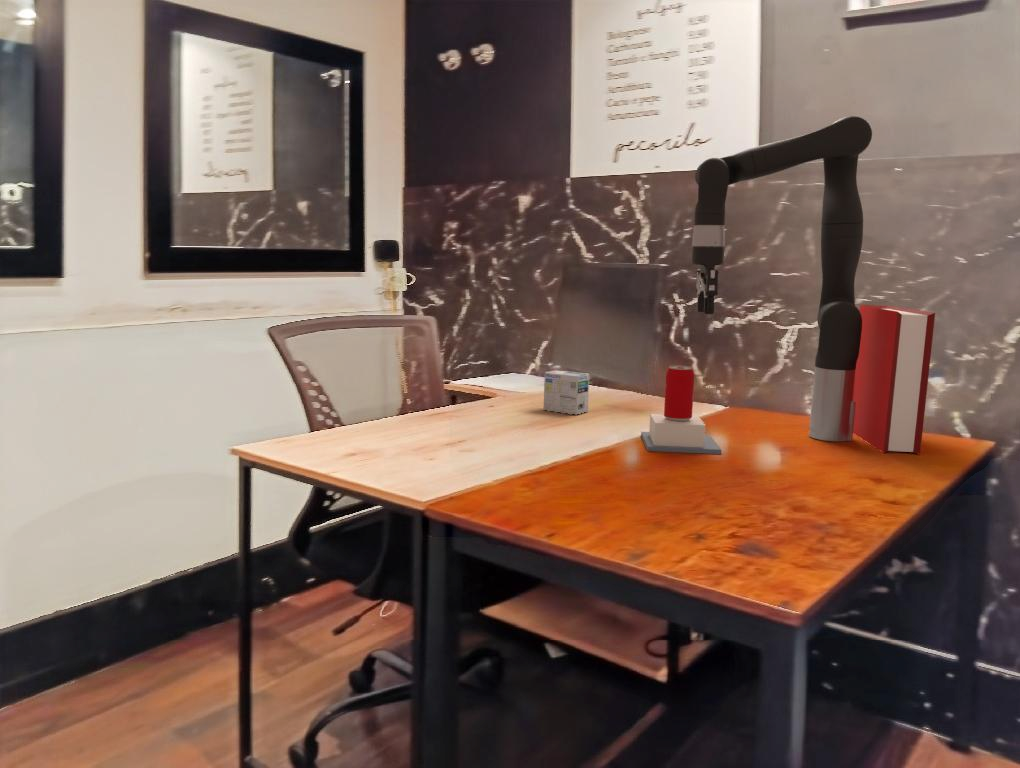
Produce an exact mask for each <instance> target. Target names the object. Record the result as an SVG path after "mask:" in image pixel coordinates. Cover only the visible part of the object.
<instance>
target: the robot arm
mask: <svg viewBox="0 0 1020 768" xmlns="http://www.w3.org/2000/svg"><path fill="white" fill-rule="evenodd" d="M872 136H873V130H872V127H871V124H870V123H869V122H868V121H867V120H866V119H864V118H862V117H860V116H857V115H850V116H844V117H841V118H839V119H838V120H836V121H834V122H833V123H831V124H830V125H827V126H825V127H822V128H820V129H817V130H815V131H811V132H809V133H805V134H803V135H799V136H794V137H792V138H787V139H783V140H782V139H781V140H778V141H774V142H770V143H766V144H762V145H761V144H760V145H757V146H754V147H751V148H747V149H744V150H741V151H739V152H737V153H735V154H732V155H731V154H730V155H728V156H724V157H720V158H718V157H710V158H707V159H706V160H704V161H703V162H701V163H700V164H699V165H698V167H697V168H696V171H695V174H694V175H695V176H694V178H695V182H696V184H697V187H698V189H697V190H698V192H697V202H696V205H695V208H694V226H693V233H692V241H691V242H692V245H691V247H692V248H691V264H692V265H693V266H700V267H699V269H698V268H697V270H696V281H695V282H696V283H695V290H694V292H695V294H696V297H697V308H696V311H697V312H698V313H703V314H704V315H714V313H715V299H716V297H717V296H718V290H719V289H718V287H719V286H718V285H719V283H718V280H719V270H718V269H715V267H716V266H723V265H724V264H725V245H726V243H725V242H726V230H725V226H726V225H725V222H726V201H727V195H728V188H729V186H731V185H733V184H736V183H739V182H743V181H750V180H753V179H759V178H761V177H765V176H769V175H773V174H776V173H779V172H783V171H785V170H788V169H791V168H793V167H796V166H798V165H801V164H802V165H803V164H805V163H808V162H809V163H810V162H813V161H817V160H821V159H823V160H822V161H823V173H824V174H823V176H824V181H823V182H824V184H823V196H822V207H821V208H822V210H821V211H822V212H821V223H820V224H821V226H820V258H821V259H820V260H821V274H822V275H821V277H822V282H821V283H822V284H821V292H820V299H819V300H820V301H819V306H818V313H817V319H816V320H817V325H818V326H817V327H818V328H819V333H818V334H819V335H818V336H819V337H818V344H817V345H818V346H817V352H816V355H815V359H814V361H815V362H814V371H813V372H814V373H813V385H812V396H811V397H812V398H811V406H810V407H811V408H810V419H809V420H810V421H809V428H808V430H809V431H808V436H809V437H810V438H812V439H816V440H820V441H827V442H846V441H847V442H848V441H849V442H852V441H853V437H854V436H853V435H854V434H853V426H854V415H855V405H856V403H855V401H853V393H854V383H855V382H854V381H855V372H856V363H857V359H858V356H859V349H860V341H861V332H862V316H861V313H860V311H859V310H860V308H858V307H857V306H856V299H855V296H856V295H855V279H856V273H857V270H858V265H859V261H860V259H861V252H862V248H863V247H862V246H863V238H864V235H863V234H864V213H863V212H864V211H863V206H862V202H861V201H862V200H861V197H860V193H859V189H858V184H857V182H858V181H857V172H858V164H859V155H860V154H862V153H863V152H864V151H866V149H867V148H868V147H869V145H870V143H871V141H872V138H873V137H872Z"/></svg>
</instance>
